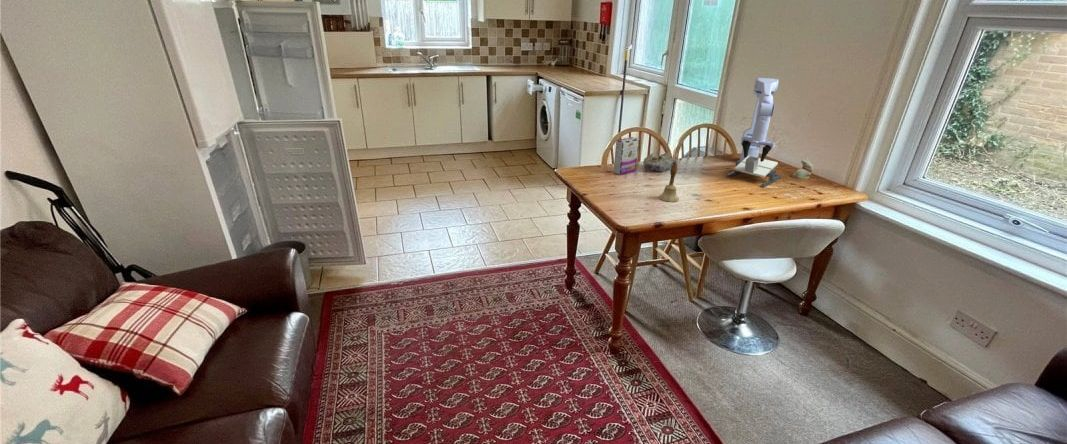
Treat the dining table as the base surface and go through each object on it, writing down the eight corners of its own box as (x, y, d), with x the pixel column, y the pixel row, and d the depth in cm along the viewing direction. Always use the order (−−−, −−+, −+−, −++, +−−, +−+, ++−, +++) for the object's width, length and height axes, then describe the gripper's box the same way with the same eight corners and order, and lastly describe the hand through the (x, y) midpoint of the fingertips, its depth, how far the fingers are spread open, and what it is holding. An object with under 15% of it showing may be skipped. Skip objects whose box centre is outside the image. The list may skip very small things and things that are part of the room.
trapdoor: (748, 157, 226) (748, 155, 225) (777, 164, 217) (777, 162, 216) (734, 169, 219) (734, 167, 218) (763, 177, 210) (764, 175, 209)
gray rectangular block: (748, 167, 217) (750, 155, 213) (757, 169, 214) (758, 158, 211) (744, 170, 215) (745, 159, 212) (752, 173, 212) (754, 161, 209)
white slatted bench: (743, 169, 232) (746, 156, 229) (780, 178, 220) (784, 165, 218) (725, 177, 220) (728, 164, 217) (763, 187, 208) (767, 174, 205)
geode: (638, 179, 229) (667, 181, 220) (634, 164, 224) (664, 165, 215) (651, 160, 239) (679, 161, 230) (647, 144, 233) (676, 145, 224)
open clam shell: (809, 180, 219) (815, 160, 214) (791, 177, 223) (797, 157, 218) (810, 177, 223) (816, 157, 219) (793, 174, 227) (798, 154, 222)
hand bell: (663, 193, 199) (669, 158, 192) (682, 198, 194) (688, 162, 187) (655, 198, 193) (660, 162, 186) (674, 204, 188) (680, 167, 181)
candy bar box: (628, 168, 228) (632, 136, 221) (635, 171, 224) (640, 138, 217) (612, 172, 222) (615, 139, 215) (619, 175, 218) (623, 142, 211)
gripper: (740, 128, 209) (734, 157, 215) (773, 134, 199) (765, 164, 205) (747, 126, 213) (741, 154, 219) (779, 132, 204) (772, 161, 210)
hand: (753, 159), depth 212 cm, fingers open, 7 cm apart
